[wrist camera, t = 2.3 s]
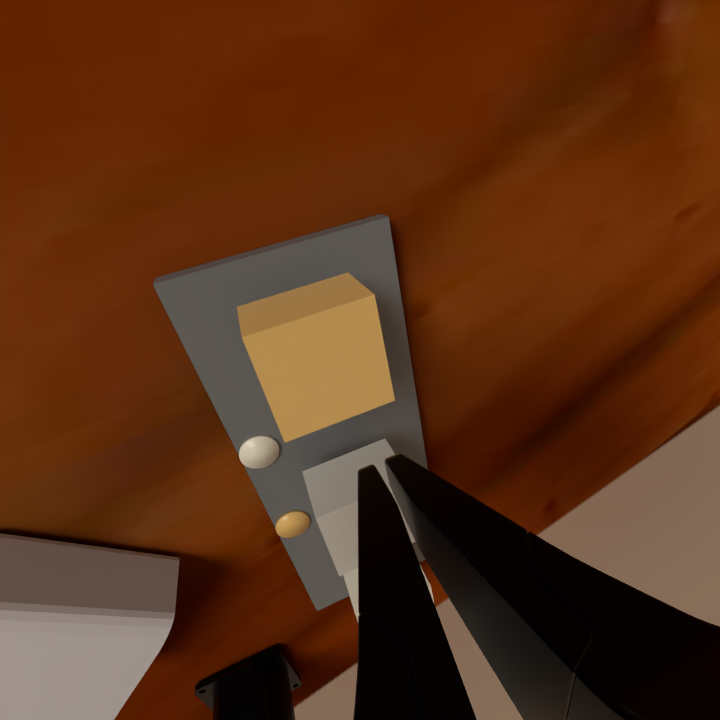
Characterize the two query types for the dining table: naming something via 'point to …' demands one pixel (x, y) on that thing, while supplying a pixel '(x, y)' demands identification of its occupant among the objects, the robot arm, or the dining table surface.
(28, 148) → the dining table surface
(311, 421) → the key amber
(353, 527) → the key grey
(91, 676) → the charger
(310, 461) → the keypad base
